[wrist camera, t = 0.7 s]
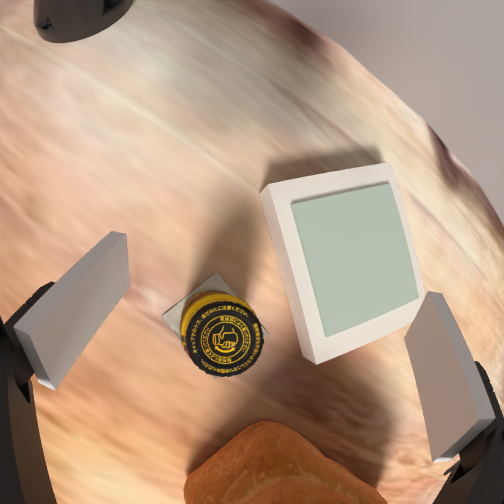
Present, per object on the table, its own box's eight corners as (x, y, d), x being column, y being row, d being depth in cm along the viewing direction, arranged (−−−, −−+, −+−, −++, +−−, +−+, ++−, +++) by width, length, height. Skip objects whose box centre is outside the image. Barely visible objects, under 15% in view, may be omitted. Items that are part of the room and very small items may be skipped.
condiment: (216, 271, 33) (233, 267, 21) (268, 334, 33) (310, 361, 21) (161, 316, 31) (147, 338, 19) (215, 378, 32) (231, 427, 20)
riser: (258, 194, 34) (269, 182, 30) (372, 172, 37) (392, 160, 33) (302, 355, 34) (318, 366, 29) (407, 311, 37) (431, 314, 32)
